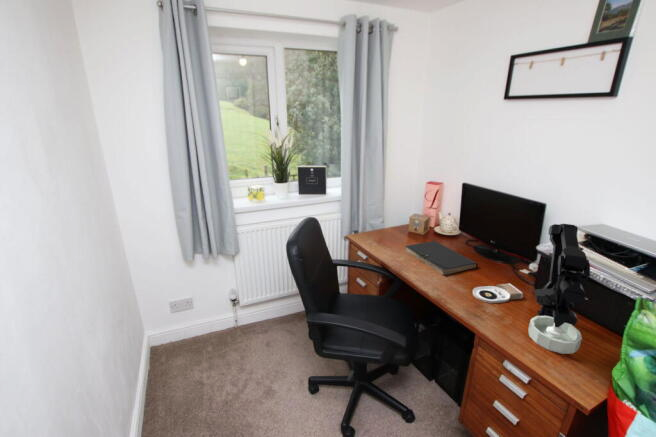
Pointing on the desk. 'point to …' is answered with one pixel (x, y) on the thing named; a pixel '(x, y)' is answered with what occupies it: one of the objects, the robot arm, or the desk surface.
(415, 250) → the dark grey book
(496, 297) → the record player
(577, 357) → the desk surface
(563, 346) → the bowl
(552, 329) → the chess piece
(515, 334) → the desk surface
